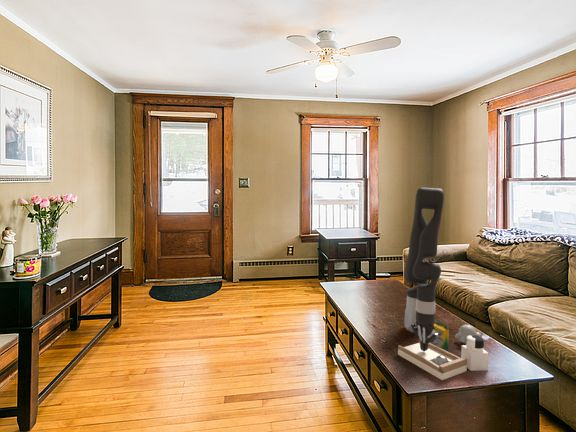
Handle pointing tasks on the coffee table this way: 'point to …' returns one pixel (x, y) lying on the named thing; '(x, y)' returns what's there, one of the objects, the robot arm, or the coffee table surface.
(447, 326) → the crayon box
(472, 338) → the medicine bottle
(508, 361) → the coffee table surface
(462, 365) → the cream shallow tray
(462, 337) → the chubby cartoon animal
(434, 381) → the coffee table surface
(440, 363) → the ball
